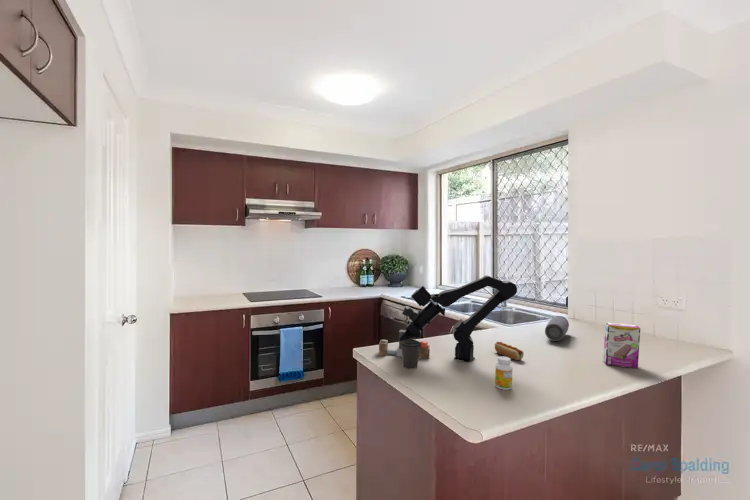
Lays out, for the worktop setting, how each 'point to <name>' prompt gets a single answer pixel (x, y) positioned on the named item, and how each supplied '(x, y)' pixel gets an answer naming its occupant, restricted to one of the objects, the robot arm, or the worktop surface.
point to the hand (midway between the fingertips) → (400, 339)
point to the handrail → (391, 352)
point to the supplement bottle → (503, 373)
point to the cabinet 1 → (383, 347)
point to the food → (508, 351)
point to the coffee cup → (410, 353)
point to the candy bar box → (621, 345)
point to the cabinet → (424, 352)
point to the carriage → (399, 348)
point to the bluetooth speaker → (557, 328)
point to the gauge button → (424, 344)
